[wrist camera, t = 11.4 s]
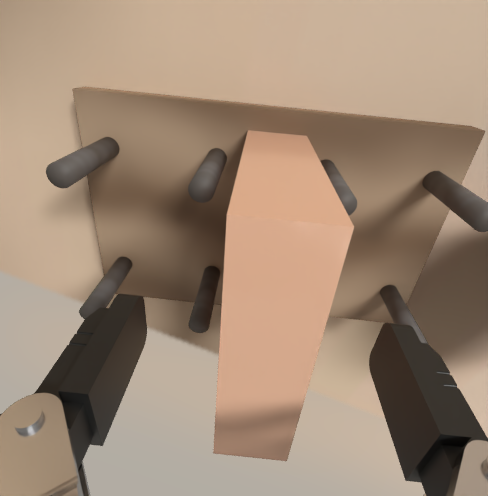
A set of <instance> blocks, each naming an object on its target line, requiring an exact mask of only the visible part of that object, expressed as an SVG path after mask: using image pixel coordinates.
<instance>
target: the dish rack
mask: <svg viewBox="0 0 488 496" xmlns="http://www.w3.org/2000/svg"><path fill="white" fill-rule="evenodd" d="M72 90H73V96H74V102H75V107H76V113H77V119H78V125H79V131H80V137H81V143H82V148H81V149H79V150H77V151H75V152H73V153H71V154H69V155H67V156H65V157H63V158H61V159H59V160H57V161H55V162H53V163H51V164H49V165H48V167H47V169H46V174H47V177H48V179H49V180H50V182H51V183H52V184H54V185H55V186H57V187H59V188H68V187H70V186H71V185H73V184H74V183H76V182H77V181H79V180H80V179H82V178H83V177H85V176H86V175H87V178H88V183H89V189H90V195H91V201H92V207H93V213H94V219H95V224H96V230H97V236H98V242H99V248H100V254H101V259H102V265H103V271H104V277H103V279H102V280H101V281H100V283H99V284H98V285H97V287H96V288H95V289H94V291H93V292H92V293H91V295H90V296H89V297H88V299H87V300H86V301H85V303H84V304H83V306H82V307H81V308H80V310H79V313H80V315H81V316H82V317H83V318H84V319H86V318H87V317H88V316H89V315H91V314H92V313H93V312H95V311H96V310H97V309H99V308H100V307H101V308H106V307H107V305H108V304H109V302H110V301H111V299H112V298H113V296H114V294H130V295H139V296H143V297H151V298H160V299H170V300H179V301H189V302H195V303H194V307H193V310H192V314H191V317H190V321H189V328H190V329H191V330H192V331H194V332H197V333H203V332H206V331H207V330H208V328H209V324H210V319H211V315H212V310H213V305H214V304H217V305H222V291H223V273H224V255H225V237H226V220H227V212H228V208H229V204H230V200H231V196H232V192H233V188H234V184H235V180H236V176H237V172H238V168H239V164H240V160H241V156H242V152H243V148H244V144H245V140H246V136H247V132H248V130H250V131H261V132H272V133H282V134H293V135H303V136H307V137H308V139H309V141H310V143H311V145H312V147H313V149H314V150H315V152H316V154H317V156H318V158H319V160H320V162H321V164H322V166H323V168H324V170H325V172H326V174H327V175H328V177H329V179H330V181H331V183H332V185H333V187H334V189H335V191H336V193H337V195H338V197H339V199H340V200H341V202H342V204H343V206H344V208H345V210H346V212H347V214H348V216H349V218H350V220H351V222H352V224H353V225H354V229H353V233H352V236H351V240H350V243H349V247H348V250H347V254H346V257H345V261H344V264H343V268H342V271H341V275H340V278H339V281H338V285H337V288H336V292H335V295H334V299H333V302H332V306H331V309H330V313H329V317H339V318H348V319H357V320H367V321H376V322H386V323H394V324H404V325H410V326H412V327H413V329H414V330H415V332H416V334H417V336H418V338H419V340H420V341H421V343H427V341H426V339H425V337H424V336H423V334H422V332H421V330H420V328H419V327H418V325H417V323H416V321H415V320H414V318H413V316H412V314H411V313H410V311H409V309H408V307H407V302H408V300H409V298H410V296H411V294H412V291H413V289H414V287H415V285H416V283H417V280H418V278H419V276H420V274H421V272H422V269H423V267H424V265H425V263H426V261H427V258H428V256H429V254H430V252H431V250H432V247H433V245H434V243H435V241H436V239H437V236H438V234H439V232H440V230H441V228H442V225H443V223H444V221H445V219H446V217H447V214H448V212H449V210H450V209H451V210H452V211H453V212H454V213H456V214H457V215H458V216H459V217H460V218H462V219H463V220H464V221H465V222H466V223H468V224H469V225H470V226H471V227H473V228H474V229H475V230H476V231H479V232H486V231H488V202H486V201H485V200H483V199H482V198H480V197H479V196H477V195H475V194H474V193H472V192H471V191H469V190H468V189H466V188H465V187H463V186H462V185H461V184H462V181H463V179H464V177H465V175H466V173H467V171H468V168H469V166H470V164H471V162H472V160H473V157H474V155H475V153H476V151H477V149H478V146H479V144H480V142H481V140H482V138H483V135H484V133H485V131H484V130H481V129H478V128H475V127H472V126H464V125H454V124H445V123H435V122H425V121H415V120H405V119H396V118H386V117H376V116H366V115H356V114H347V113H337V112H327V111H317V110H307V109H297V108H288V107H278V106H268V105H258V104H248V103H239V102H229V101H219V100H209V99H199V98H190V97H180V96H170V95H160V94H150V93H141V92H131V91H121V90H111V89H101V88H92V87H81V88H75V89H72ZM427 344H428V343H427ZM428 345H429V344H428Z"/></svg>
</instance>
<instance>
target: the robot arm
mask: <svg viewBox="0 0 488 496" xmlns="http://www.w3.org/2000/svg"><path fill="white" fill-rule="evenodd" d="M146 334H147V324H146V315H145V305H144V298H143V296H139V295H130V294H118V295H117V296H116V298H115V299H114V301H113V302H112V304H111V306H110V307H109V308H101V307H100V308H99V309H97V310H96V311H95V312H93V313H92V314H91V315H89V316H88V317H87V318H86V319H85V320H84V322H83V323H82V325H81V326H80V328H79V329H78V331H77V334H75V335H74V337H73V338H72V340H71V341H70V344H69V345H67V347H66V348H65V350H64V351H63V353H62V354H61V356H60V357H59V359H58V360H57V362H56V363H55V364H54V366H53V367H52V369H51V370H50V372H49V373H48V375H47V376H46V378H45V379H44V381H43V382H42V384H41V385H40V387H39V388H38V389H37V391H36V392H35V393H34V394H32V395H29V396H26V397H24V398H22V399H20V400H18V401H17V402H15V403H14V404H12V405H11V406H10V407H9V408H7V409H6V410H5V411H4V412H3V413H2V414H0V496H90V492H89V488H88V483H87V478H86V474H85V470H84V465H83V461H82V460H83V458H84V456H85V454H86V452H87V449H88V447H89V445H90V444H91V445H100V446H103V443H104V441H105V439H106V436H107V434H108V432H109V429H110V427H111V424H112V422H113V420H114V417H115V415H116V412H117V410H118V407H119V405H120V403H121V400H122V398H123V396H124V393H125V391H126V388H127V386H128V384H129V381H130V379H131V376H132V374H133V372H134V369H135V367H136V364H137V362H138V359H139V357H140V355H141V352H142V350H143V348H144V345H145V341H146ZM369 366H370V372H371V375H372V378H373V382H374V385H375V388H376V391H377V394H378V397H379V400H380V403H381V406H382V409H383V412H384V415H385V418H386V422H387V425H388V428H389V431H390V434H391V437H392V440H393V443H394V446H395V449H396V452H397V455H398V459H399V462H400V465H401V468H402V470H403V474H404V477H405V480H406V481H414V482H422V485H423V488H424V490H425V494H424V495H423V496H488V438H487V437H486V435H485V433H484V431H483V430H482V428H481V426H480V424H479V423H478V421H477V419H476V417H475V416H474V414H473V412H472V410H471V409H470V407H469V405H468V403H467V402H466V400H465V398H464V396H463V395H462V393H461V391H460V389H458V388H457V384H456V382H455V381H454V379H453V377H452V376H451V375H450V372H449V370H448V368H447V367H446V365H445V363H444V361H443V360H442V358H441V357H440V356H439V355H438V354H437V353H436V352H435V351H434V350H433V349H432V348H431V347H430V346H429V345H428V344H427V343H421V341H420V340H419V338H418V336H417V334H416V332H415V330H414V329H413V327H412V326H410V325H404V324H394V323H385V324H384V325H383V326H382V329H381V331H380V333H379V335H378V338H377V340H376V342H375V345H374V347H373V349H372V351H371V354H370V360H369Z"/></svg>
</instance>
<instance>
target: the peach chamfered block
mask: <svg viewBox="0 0 488 496" xmlns="http://www.w3.org/2000/svg"><path fill="white" fill-rule="evenodd" d="M353 229H354V225H353V224H352V222H351V220H350V218H349V216H348V214H347V212H346V210H345V208H344V206H343V204H342V202H341V200H340V199H339V197H338V195H337V193H336V191H335V189H334V187H333V185H332V183H331V181H330V179H329V177H328V175H327V174H326V172H325V170H324V168H323V166H322V164H321V162H320V160H319V158H318V156H317V154H316V152H315V150H314V149H313V147H312V145H311V143H310V141H309V139H308V137H307V136H303V135H293V134H282V133H272V132H261V131H250V130H248V132H247V136H246V140H245V144H244V148H243V152H242V156H241V160H240V164H239V168H238V172H237V176H236V180H235V184H234V188H233V192H232V196H231V200H230V204H229V208H228V212H227V220H226V237H225V255H224V273H223V291H222V309H221V327H220V345H219V364H218V381H217V398H216V416H215V434H214V452H213V453H215V454H224V455H234V456H243V457H253V458H262V459H272V460H281V461H287V459H288V455H289V452H290V448H291V445H292V441H293V438H294V434H295V431H296V427H297V424H298V421H299V417H300V414H301V410H302V407H303V403H304V400H305V396H306V393H307V389H308V386H309V382H310V379H311V375H312V372H313V368H314V365H315V361H316V358H317V354H318V351H319V348H320V344H321V341H322V337H323V334H324V330H325V327H326V323H327V320H328V316H329V313H330V309H331V306H332V302H333V299H334V295H335V292H336V288H337V285H338V281H339V278H340V275H341V271H342V268H343V264H344V261H345V257H346V254H347V250H348V247H349V243H350V240H351V236H352V233H353Z"/></svg>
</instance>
